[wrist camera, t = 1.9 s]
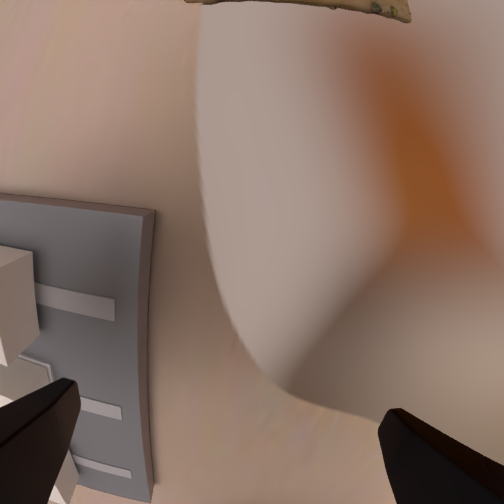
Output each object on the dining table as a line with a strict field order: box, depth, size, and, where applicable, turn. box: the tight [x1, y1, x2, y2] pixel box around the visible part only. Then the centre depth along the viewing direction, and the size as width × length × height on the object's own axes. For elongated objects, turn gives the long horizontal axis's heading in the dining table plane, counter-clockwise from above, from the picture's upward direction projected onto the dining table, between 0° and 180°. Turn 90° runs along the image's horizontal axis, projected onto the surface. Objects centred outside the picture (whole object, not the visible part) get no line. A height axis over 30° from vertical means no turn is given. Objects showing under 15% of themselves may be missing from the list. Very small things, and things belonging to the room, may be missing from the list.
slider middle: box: [0, 358, 50, 407], centre depth 11 cm, size 4×4×3 cm
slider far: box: [49, 449, 79, 504], centre depth 12 cm, size 4×4×3 cm
